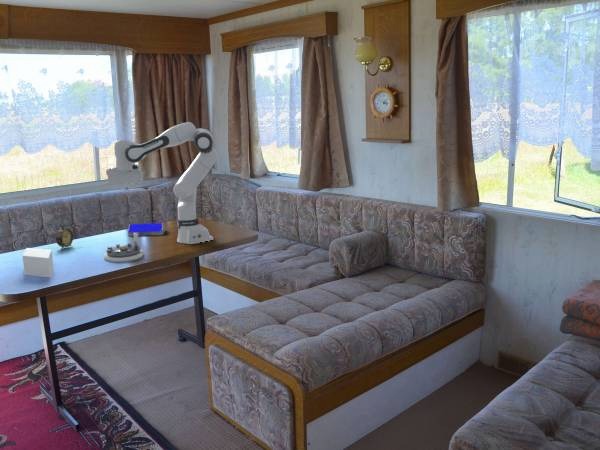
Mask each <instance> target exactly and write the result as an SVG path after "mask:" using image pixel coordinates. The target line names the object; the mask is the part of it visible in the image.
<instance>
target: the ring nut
mask: <svg viewBox="0 0 600 450" xmlns="http://www.w3.org/2000/svg"><path fill="white" fill-rule="evenodd" d="M133 234H134V236H133V243H134V244H132V243H127V244H126V245H127V249H126V250H119V246H120V245H121V244H119V243H116V244H115V245H116V246H113V247H112V246H108V247H107V249H106V253H107V255H108V256H110V257H128V256H133V255H136V254H139V253H140V250H141V247H140V243H139V236H138V233H133Z"/></svg>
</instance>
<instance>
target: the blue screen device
mask: <svg viewBox="0 0 600 450" xmlns="http://www.w3.org/2000/svg"><path fill="white" fill-rule="evenodd" d="M165 232H166V227H165V223H164V222H160V223H159V222H156V223H131V224H130V223H129V224H128V229H127V235H128V237H134V234H133V233H138V237H141V236H163V235H164V234H165Z"/></svg>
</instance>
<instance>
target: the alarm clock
mask: <svg viewBox="0 0 600 450" xmlns="http://www.w3.org/2000/svg"><path fill="white" fill-rule="evenodd" d="M62 223H63V226H62V225H60V227H61V228H60V229H59V230H57V232H56V233H55V234H56V235H55V241H56V244H57V245H58V246H59V247H61V251H63V250H64V248H69V247H72V244H73V240H74V236H73V232H72V230H71V229H69V228H64V227H65V222H64V221H61V223H60V224H62Z"/></svg>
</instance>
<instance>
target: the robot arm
mask: <svg viewBox="0 0 600 450" xmlns="http://www.w3.org/2000/svg"><path fill="white" fill-rule="evenodd" d="M186 142H194V145H195V147H196V148H197V149H198V151H199V152H198V154H197V156H195V158H194V160H193V161H192V162H191V164H190V165H189V167H188V168H187V169H186V170H185V171H184V172H183V174H182V175H180V177H179V179H178V180H177V181H176V182H175V184H174V185H173V190H172V192H173V194H174V196H175V197H176V198H178V202H177V221H176V222H177V223H176V224H177V228H178V230H177V233H178V234H177V239H176V242H177V243H179V244H187V245H193V244H194V245H195V244H200V242H202V243H206V242H205V241H208V242H211V241H210V240H213V241H214V237H213V235H210V232H209V229H208V228H207V227H205V226H204V225H203V224H201V223H202V219H200V218H198V217H197V205H196V204H197V190H198V186H199V185H200V184H201V182H202V181H203V180H204V179H205V178H206V176H207V174H208V173H209V172H210V171H211V169H212V167H213V166H214V165H215V162H216V161H217V160H218V156H219V154H218V151H217V150H216V149H215V148H214V147H213V146H214V137H213V134H212V132H211V131H210V130H209V129H208V128H206V127H198V126H197V127H196V126H195V124H193V122H191V121H187V122H182V123H179V124H176V125H173V126H172V127H169V128H168V129H166V130H165V131H164V132H161V134H159V135H158V136H156V137H155V138H153V139H151V140H149V141H147V142H144V143H136V142H133V141H131V140H129V139H128V138H123V139H119V140H116V141H115V142H114V147H113V149H114V156H115V167H109V168H107V169H105V171H106V175H107V183H108V184H110V185H112V184H121V186H122V187H123V191H129V190H130V186H131V184H132V183H135V182H143V180H144V176H143V172H142V170H141V169H140V168H141V166H140V165H139V164H136V163H138V162H140V161H142V160H144V159H145V158H146V156H147V155H148V154H151V153H153V152H155V151H157V150H160V149H165V148H172V147H177V146H180V145H182V144H184V143H186ZM125 183H127V184H128V185H127V186H125Z"/></svg>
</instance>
